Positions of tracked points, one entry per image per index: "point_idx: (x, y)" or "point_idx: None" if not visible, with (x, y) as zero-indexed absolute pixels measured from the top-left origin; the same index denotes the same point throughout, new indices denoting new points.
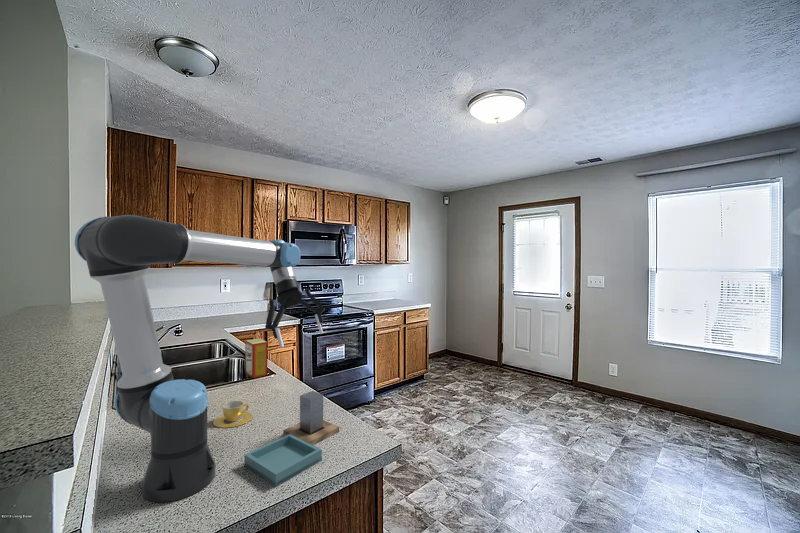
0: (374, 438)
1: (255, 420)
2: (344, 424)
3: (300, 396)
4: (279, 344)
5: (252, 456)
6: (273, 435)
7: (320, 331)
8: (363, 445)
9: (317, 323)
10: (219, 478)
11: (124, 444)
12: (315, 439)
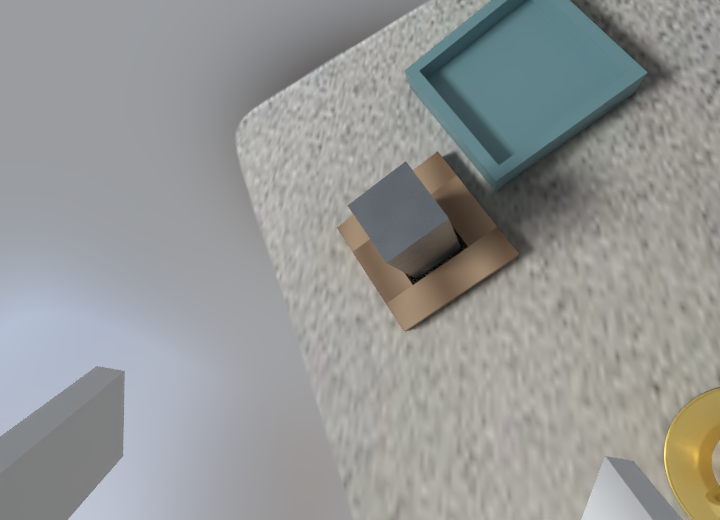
0: (264, 169)
1: (644, 419)
2: (319, 273)
3: (446, 216)
4: (649, 483)
5: (616, 58)
6: (553, 263)
7: (101, 377)
8: (298, 140)
9: (7, 462)
10: (705, 40)
11: None
12: (415, 168)
